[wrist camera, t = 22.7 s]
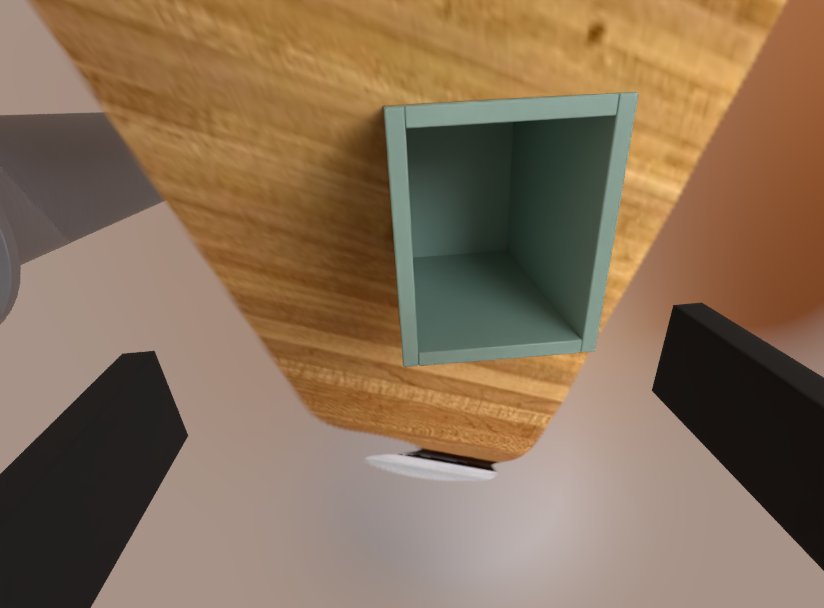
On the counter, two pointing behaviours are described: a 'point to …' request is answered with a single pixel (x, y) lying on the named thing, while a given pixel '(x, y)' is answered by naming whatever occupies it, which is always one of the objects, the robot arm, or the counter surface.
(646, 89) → the counter surface
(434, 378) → the counter surface
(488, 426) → the counter surface
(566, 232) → the open box
